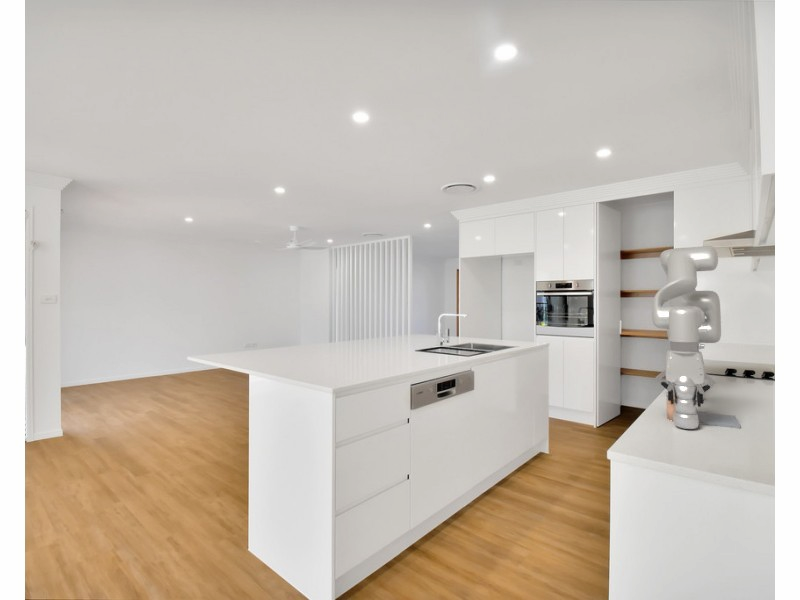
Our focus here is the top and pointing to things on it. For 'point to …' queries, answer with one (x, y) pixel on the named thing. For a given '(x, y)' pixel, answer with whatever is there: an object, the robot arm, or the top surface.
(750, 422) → the top surface
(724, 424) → the slate mat
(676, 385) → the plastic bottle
